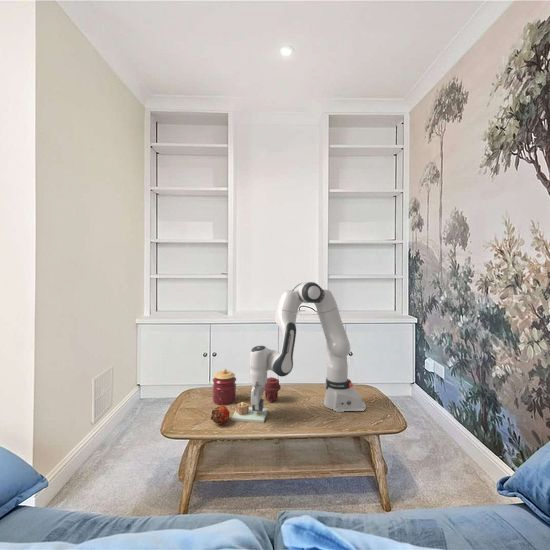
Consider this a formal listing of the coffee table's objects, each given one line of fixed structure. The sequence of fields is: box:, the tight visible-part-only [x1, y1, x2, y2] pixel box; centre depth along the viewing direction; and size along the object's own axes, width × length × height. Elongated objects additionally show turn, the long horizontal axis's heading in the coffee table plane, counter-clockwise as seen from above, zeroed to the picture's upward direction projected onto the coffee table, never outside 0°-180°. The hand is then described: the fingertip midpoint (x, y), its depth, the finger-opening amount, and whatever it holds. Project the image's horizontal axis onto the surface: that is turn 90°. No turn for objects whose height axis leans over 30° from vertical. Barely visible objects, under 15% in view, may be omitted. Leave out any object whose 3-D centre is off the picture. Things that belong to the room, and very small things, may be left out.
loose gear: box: [251, 398, 265, 412], centre depth 163 cm, size 5×5×4 cm
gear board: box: [230, 401, 269, 424], centre depth 164 cm, size 16×13×6 cm
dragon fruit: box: [210, 405, 230, 425], centre depth 157 cm, size 8×8×12 cm
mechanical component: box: [264, 376, 281, 404], centre depth 182 cm, size 12×10×10 cm
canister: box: [212, 368, 237, 406], centre depth 181 cm, size 13×13×18 cm
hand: (258, 406), depth 163 cm, fingers closed on loose gear, 5 cm apart
